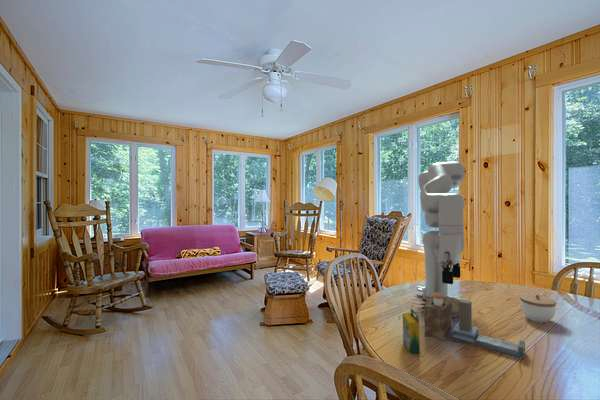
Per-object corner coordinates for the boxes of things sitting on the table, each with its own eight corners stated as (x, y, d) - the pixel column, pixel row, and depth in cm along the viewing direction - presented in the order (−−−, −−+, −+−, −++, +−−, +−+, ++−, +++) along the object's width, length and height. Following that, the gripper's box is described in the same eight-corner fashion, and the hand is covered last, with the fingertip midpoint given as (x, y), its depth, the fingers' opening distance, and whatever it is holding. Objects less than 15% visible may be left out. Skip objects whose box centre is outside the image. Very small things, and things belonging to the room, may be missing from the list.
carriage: (452, 336, 97) (452, 302, 97) (458, 329, 102) (458, 296, 102) (473, 342, 93) (472, 306, 93) (478, 334, 98) (477, 300, 98)
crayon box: (402, 342, 96) (402, 307, 96) (411, 342, 96) (411, 307, 96) (410, 354, 89) (409, 316, 89) (420, 354, 89) (419, 316, 89)
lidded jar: (563, 326, 107) (563, 300, 107) (529, 324, 109) (529, 298, 109) (545, 314, 117) (544, 291, 117) (514, 313, 119) (514, 290, 119)
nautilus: (404, 314, 121) (417, 306, 132) (462, 325, 107) (471, 315, 118) (403, 294, 122) (416, 288, 133) (460, 303, 108) (470, 294, 119)
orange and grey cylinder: (432, 314, 103) (431, 294, 103) (435, 311, 106) (434, 292, 106) (441, 316, 101) (441, 296, 101) (444, 313, 103) (444, 293, 103)
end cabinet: (424, 334, 102) (424, 306, 102) (434, 325, 109) (434, 298, 109) (443, 340, 98) (442, 310, 98) (452, 330, 105) (451, 302, 105)
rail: (445, 337, 99) (445, 327, 99) (449, 332, 103) (449, 322, 103) (523, 359, 85) (523, 348, 85) (525, 352, 89) (525, 341, 89)
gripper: (446, 227, 109) (446, 273, 109) (431, 231, 96) (432, 284, 96) (468, 228, 104) (469, 276, 104) (456, 233, 91) (457, 288, 91)
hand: (451, 280), depth 100 cm, fingers open, 9 cm apart
